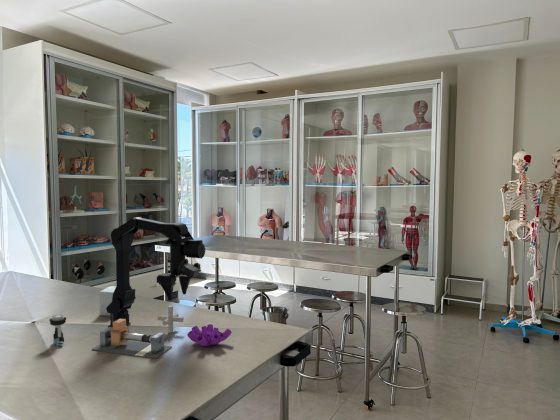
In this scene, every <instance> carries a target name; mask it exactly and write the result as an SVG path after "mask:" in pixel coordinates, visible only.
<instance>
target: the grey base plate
mask: <svg viewBox="0 0 560 420" xmlns="http://www.w3.org/2000/svg"><path fill="white" fill-rule="evenodd" d="M172 348H173V346H171V345H165V344H164V349H163V350H162V351H160V352H159V353H157V354H152V353H151V343H146V342H139V341H131V340H128V341H126V342H125V343H123V344H121V345H119V346H116V345H111V344H110V345H109V346H107V347H100V344H98V345H96V346H95V347H94V346H93V348H91V351H96V352H103V353H111V354H118V355H127V356H133V357H141V358H148V359H155V360H156V359H158V358H159V357H161V356H162V355H164V354H165V353H167V352H168V351H169V350H171V349H172Z"/></svg>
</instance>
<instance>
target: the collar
mask: <svg viewBox="0 0 560 420" xmlns="http://www.w3.org/2000/svg"><path fill="white" fill-rule="evenodd" d="M121 332H126V333H129V325H128V326H126V319H118V320H116V321H114V322H113V329H112V330H111V345H116V346H119V345H121V344H123V343H125V342H126V341H129V340H123V339H120V333H121Z"/></svg>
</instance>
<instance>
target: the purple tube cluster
mask: <svg viewBox="0 0 560 420" xmlns="http://www.w3.org/2000/svg"><path fill="white" fill-rule="evenodd" d="M231 334H232V330H231V329H229V328H226V329H225V330H224V331H222V332H221V331H220V330H219V327H215V326H214V325H213V323H211V324H210V323H208V324H207V325H203V326H201V328H200V327H198V325H194V326H193V327H191V330H190V331H189V332H187V333H186V335H187V338H188V339H189V340H191V341H192V342H194V343H195V344H199V346H202V347H209V346H215V345H218V344H219V343H221V342H224V341H225V340H226V339H228V338H229V337H230V336H231Z"/></svg>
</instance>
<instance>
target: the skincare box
mask: <svg viewBox="0 0 560 420" xmlns="http://www.w3.org/2000/svg"><path fill="white" fill-rule="evenodd" d="M115 288H116V285H115V286H114V285H113V286H111V285H110V286H108V287H106V288H104V289H102V290H100V291H99V316H110V313H107V310H106V307H107V306H108V305H109V304H110V303H111V302H112V296H113V292H114V290H115Z"/></svg>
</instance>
